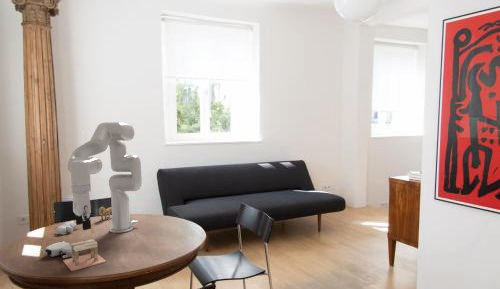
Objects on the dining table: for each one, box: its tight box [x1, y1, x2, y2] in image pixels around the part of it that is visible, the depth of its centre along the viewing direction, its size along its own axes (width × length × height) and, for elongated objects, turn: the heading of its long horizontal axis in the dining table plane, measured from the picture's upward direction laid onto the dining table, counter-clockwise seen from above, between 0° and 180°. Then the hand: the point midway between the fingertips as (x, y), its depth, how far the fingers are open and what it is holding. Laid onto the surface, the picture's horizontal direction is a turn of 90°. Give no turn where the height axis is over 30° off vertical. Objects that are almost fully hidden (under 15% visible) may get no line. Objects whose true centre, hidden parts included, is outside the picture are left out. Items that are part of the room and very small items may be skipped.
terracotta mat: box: [62, 253, 107, 272], centre depth 161 cm, size 14×14×1 cm
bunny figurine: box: [55, 220, 81, 236], centre depth 205 cm, size 10×5×15 cm
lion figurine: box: [98, 206, 112, 221], centre depth 229 cm, size 15×5×9 cm, turn 168°
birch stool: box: [71, 239, 99, 266], centre depth 160 cm, size 6×9×8 cm, turn 130°
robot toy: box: [40, 240, 84, 259], centre depth 169 cm, size 12×4×15 cm
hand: (83, 226), depth 161 cm, fingers open, 9 cm apart
